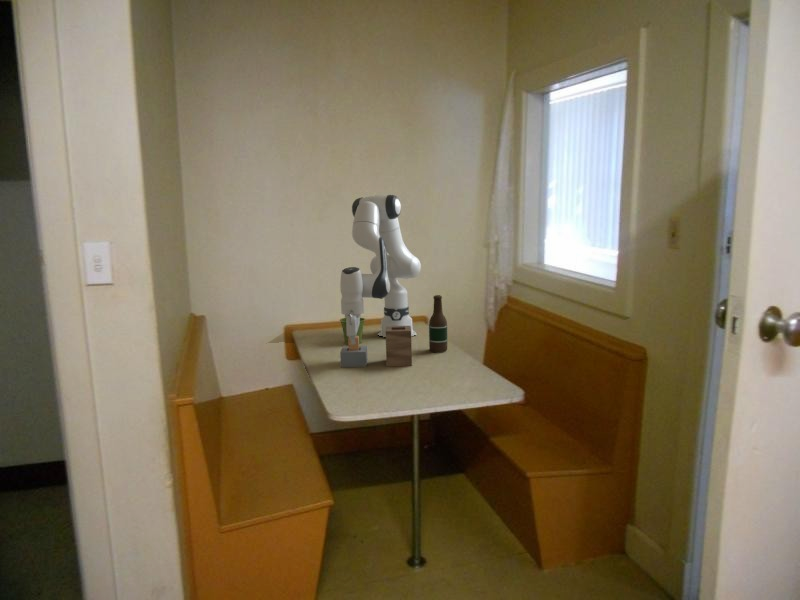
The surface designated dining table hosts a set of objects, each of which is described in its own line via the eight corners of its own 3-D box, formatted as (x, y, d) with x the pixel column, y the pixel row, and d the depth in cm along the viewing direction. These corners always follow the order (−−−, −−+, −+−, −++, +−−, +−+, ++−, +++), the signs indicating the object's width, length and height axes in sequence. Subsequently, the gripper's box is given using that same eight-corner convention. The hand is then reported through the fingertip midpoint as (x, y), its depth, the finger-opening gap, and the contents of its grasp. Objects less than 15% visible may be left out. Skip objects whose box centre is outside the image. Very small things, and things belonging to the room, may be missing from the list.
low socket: (343, 360, 245) (342, 346, 244) (367, 360, 245) (367, 345, 244) (340, 367, 236) (340, 352, 235) (366, 366, 236) (365, 351, 235)
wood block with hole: (387, 359, 245) (386, 326, 243) (411, 358, 245) (410, 325, 243) (386, 366, 235) (385, 331, 233) (411, 365, 235) (411, 330, 233)
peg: (349, 355, 241) (348, 336, 240) (359, 355, 241) (358, 335, 240) (348, 357, 239) (348, 337, 237) (358, 357, 239) (358, 337, 237)
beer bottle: (438, 353, 253) (437, 297, 249) (425, 350, 259) (424, 295, 255) (451, 350, 258) (450, 295, 254) (438, 347, 264) (438, 293, 260)
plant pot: (363, 346, 268) (362, 322, 266) (337, 346, 270) (336, 321, 268) (368, 340, 280) (368, 316, 278) (344, 340, 282) (343, 316, 280)
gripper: (358, 313, 227) (359, 348, 229) (361, 304, 247) (363, 336, 249) (342, 313, 227) (343, 349, 229) (346, 304, 247) (347, 337, 249)
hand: (353, 342), depth 239 cm, fingers closed on peg, 3 cm apart
